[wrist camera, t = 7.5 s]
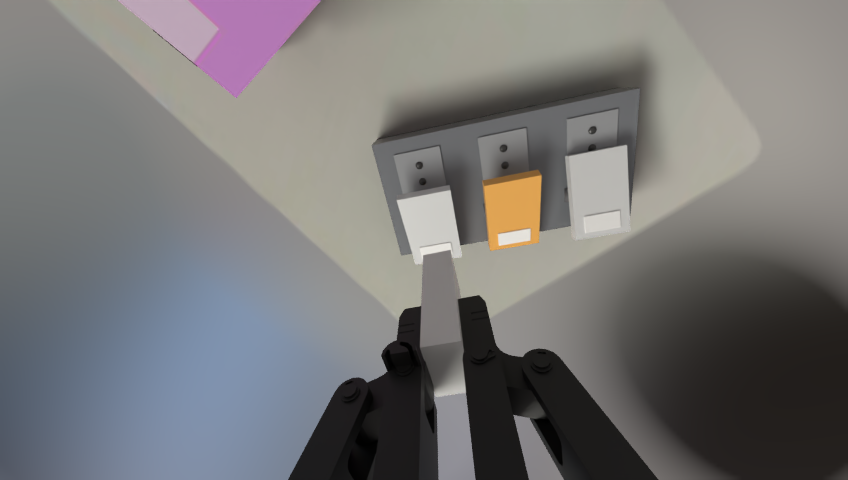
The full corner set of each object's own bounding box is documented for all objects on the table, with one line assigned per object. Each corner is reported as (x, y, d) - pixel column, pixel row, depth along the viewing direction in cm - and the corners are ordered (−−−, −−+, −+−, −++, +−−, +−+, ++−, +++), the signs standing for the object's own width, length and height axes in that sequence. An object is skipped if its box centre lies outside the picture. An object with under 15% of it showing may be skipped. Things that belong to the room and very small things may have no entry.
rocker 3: (564, 156, 30) (569, 156, 29) (621, 145, 29) (627, 144, 28) (571, 237, 32) (576, 240, 31) (624, 228, 31) (631, 231, 30)
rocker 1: (397, 195, 30) (396, 201, 29) (449, 184, 30) (450, 190, 29) (415, 258, 35) (415, 265, 34) (461, 250, 35) (462, 257, 34)
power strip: (377, 139, 33) (370, 146, 30) (618, 87, 31) (645, 88, 27) (403, 241, 38) (400, 258, 35) (612, 204, 36) (634, 218, 32)
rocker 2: (482, 180, 29) (484, 186, 28) (538, 169, 29) (541, 175, 28) (488, 244, 34) (490, 251, 34) (536, 236, 34) (539, 243, 33)
